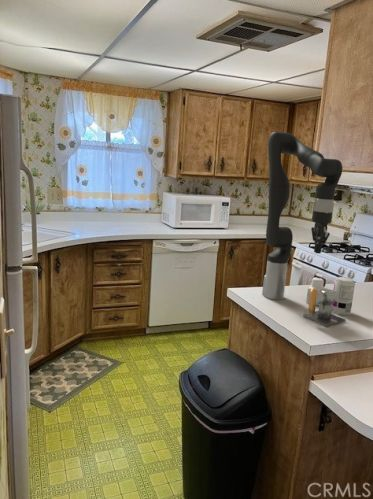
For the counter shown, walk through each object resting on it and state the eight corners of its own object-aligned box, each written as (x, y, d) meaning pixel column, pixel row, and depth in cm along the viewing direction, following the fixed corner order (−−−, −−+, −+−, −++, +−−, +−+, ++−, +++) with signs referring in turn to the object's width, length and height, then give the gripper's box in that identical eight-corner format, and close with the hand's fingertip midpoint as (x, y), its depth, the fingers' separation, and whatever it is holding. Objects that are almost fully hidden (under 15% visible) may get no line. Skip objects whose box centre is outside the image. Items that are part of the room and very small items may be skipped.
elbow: (323, 305, 170) (326, 283, 168) (337, 310, 165) (340, 288, 163) (302, 310, 163) (305, 288, 161) (315, 315, 158) (319, 292, 156)
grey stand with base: (302, 316, 168) (305, 299, 167) (321, 312, 175) (323, 295, 174) (327, 327, 159) (329, 309, 157) (345, 321, 166) (348, 304, 164)
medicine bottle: (310, 298, 192) (313, 274, 189) (325, 302, 188) (328, 277, 186) (306, 303, 186) (309, 277, 183) (321, 306, 182) (325, 281, 180)
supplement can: (327, 311, 177) (331, 278, 173) (335, 307, 182) (340, 275, 179) (345, 317, 171) (350, 283, 168) (353, 312, 177) (358, 279, 173)
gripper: (307, 207, 167) (302, 248, 171) (320, 212, 154) (314, 256, 158) (325, 208, 168) (319, 249, 172) (339, 213, 155) (333, 257, 159)
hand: (317, 252), depth 165 cm, fingers closed
